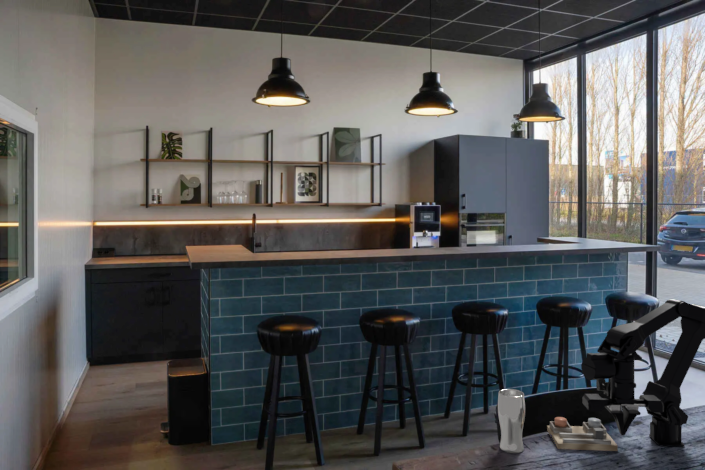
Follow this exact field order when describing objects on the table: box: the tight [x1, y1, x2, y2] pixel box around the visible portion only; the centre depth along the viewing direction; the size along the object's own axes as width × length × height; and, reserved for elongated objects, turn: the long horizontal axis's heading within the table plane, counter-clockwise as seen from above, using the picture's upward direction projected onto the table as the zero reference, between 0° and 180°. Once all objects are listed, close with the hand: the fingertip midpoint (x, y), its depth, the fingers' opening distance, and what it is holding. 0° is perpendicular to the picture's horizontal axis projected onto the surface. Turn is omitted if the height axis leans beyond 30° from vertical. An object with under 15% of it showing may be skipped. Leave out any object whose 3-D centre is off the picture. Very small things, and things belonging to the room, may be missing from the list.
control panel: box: [546, 420, 619, 452], centre depth 147 cm, size 15×12×3 cm
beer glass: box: [497, 388, 526, 454], centre depth 142 cm, size 7×7×15 cm
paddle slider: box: [593, 428, 604, 439], centre depth 143 cm, size 2×2×3 cm
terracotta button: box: [554, 416, 568, 427], centre depth 150 cm, size 3×3×2 cm
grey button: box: [587, 417, 602, 428], centre depth 149 cm, size 3×3×2 cm
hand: (622, 434), depth 142 cm, fingers closed
